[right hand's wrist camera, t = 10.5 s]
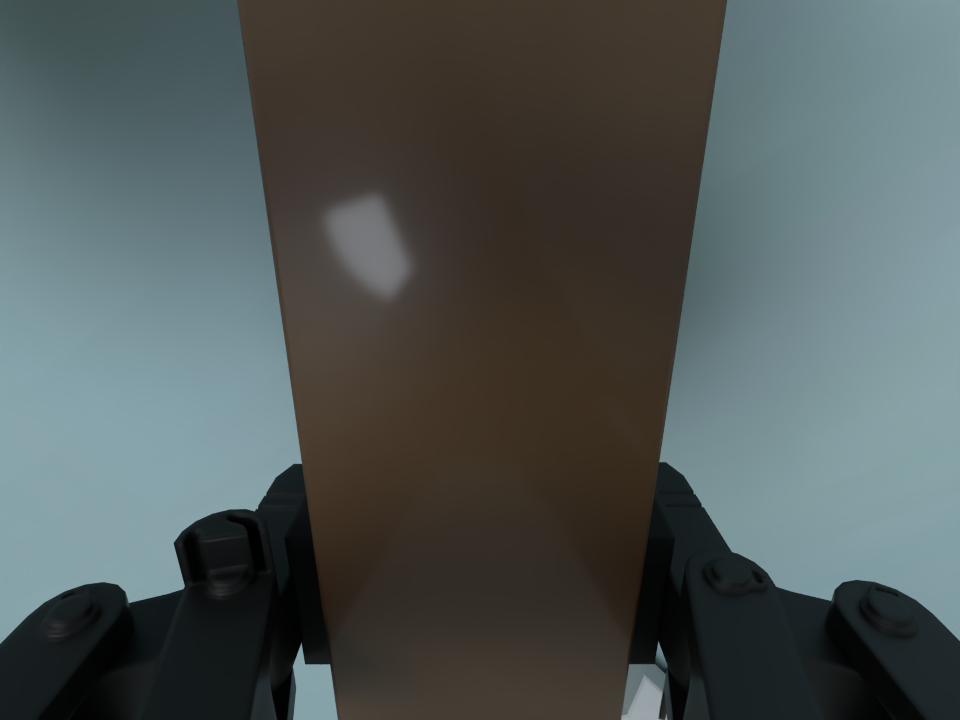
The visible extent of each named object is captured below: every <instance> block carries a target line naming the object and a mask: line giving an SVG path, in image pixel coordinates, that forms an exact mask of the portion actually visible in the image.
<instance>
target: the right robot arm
mask: <svg viewBox="0 0 960 720" xmlns="http://www.w3.org/2000/svg"><path fill="white" fill-rule="evenodd" d="M174 546H175V550H176V554H177V558H178V561H179V565H180V569H181V573H182V577H183V580H184V584H185V587H184V589H183V590H179V591H176V592H173V593H170V594H166V595H162V596H157V597H153V598H149V599H145V600H140V601H136V602H132V603H129V602H128V599H127V596H126V593H125V591H124V590H123V589H121V588H120V587H119V586H118V585H116V584H110V583H105V582H102V583H94V584H86V585H83V586H80V587H77V588H74V589H71V590H68V591H65V592H63V593H61V594H59V595H58V596H56V597H54V598H52V599H50V600H48V601H47V602H45V603H43V604H42V605H41V606H40V607H39V608H37V609H36V610H35V611H34V612H32V613H31V614H30V615H29V616H28V617H27V618H26V619H25V620H24V621H23V622H22V623H21V624H20V625H19V626H18V627H17V628H16V629H15V630H14V631H13V632H12V633H11V634H10V635H9V636H8V637H7V638H6V639H5V640H4V641H3V642H2V643H1V644H0V720H293V715H294V704H295V694H296V684H295V677H294V671H293V664H294V661H295V659H296V656H297V653H298V650H299V648H300V645H301V642H302V648H303V654H304V660H305V664H330V659H329V652H328V645H327V638H326V630H325V623H324V616H323V609H322V602H321V595H320V588H319V580H318V573H317V566H316V559H315V552H314V545H313V538H312V531H311V523H310V516H309V509H308V502H307V495H306V488H305V481H304V473H303V466H302V464H293V465H292V466H291V467H289V468H288V469H287V470H285V471H284V472H283V473H281V474H280V475H279V476H277V477H276V479H275V480H274V482H273V483H272V485H271V487H270V488H269V490H268V491H267V495H266V496H264V498H263V499H262V501H261V502H260V504H259V506H258V509H256V510H255V512H254V511H251V510H247V509H236V510H226V511H222V512H218V513H214V514H211V515H209V516H207V517H204V518H202V519H200V520H198V521H196V522H194V523H193V524H192V525H190V526H189V527H188V528H186V529H185V530H184V531H182V532H181V534H180V535H179V537H178V538H177V539H176V541H175V542H174ZM658 641H659V643H660V646H661V649H662V652H663V654H664V657H665V660H666V663H667V671H666V676H665V682H664V687H663V693H662V699H661V704H660V711H659V718H658V719H661V720H665V719H666V714H667V720H960V641H959V640H958V639H957V638H956V637H955V636H954V635H953V634H952V633H951V632H950V631H949V630H948V629H947V628H946V627H945V626H944V625H943V624H942V623H941V622H940V621H939V620H938V619H937V618H936V617H935V616H934V615H933V614H932V613H931V612H930V611H928V610H927V609H926V608H925V607H923V606H922V605H921V604H920V603H919V602H917V601H916V600H914V599H912V598H911V597H909V596H907V595H905V594H903V593H901V592H900V591H898V590H896V589H893V588H890V587H887V586H884V585H881V584H879V583H876V582H869V581H861V580H854V581H848V582H843V583H842V584H841V585H840V586H838V587H837V588H836V589H835V591H834V594H833V597H832V600H831V601H829V600H824V599H820V598H816V597H812V596H807V595H803V594H799V593H795V592H791V591H788V590H784V589H781V588H778V587H776V586H775V584H774V583H773V581H772V580H771V578H770V577H769V575H768V573H767V572H765V571H764V570H763V569H762V568H761V567H759V566H758V565H757V564H756V563H755V562H753V561H751V560H749V559H747V558H745V557H743V556H741V555H739V554H736V553H733V552H731V550H730V548H729V547H728V545H727V544H726V542H725V540H724V539H723V537H722V536H721V534H720V533H719V531H718V529H717V528H716V526H715V525H714V523H713V521H712V520H711V518H710V517H709V515H708V514H707V512H706V510H705V509H704V507H702V506H701V502H700V501H699V499H698V498H697V496H696V495H695V494H693V490H692V488H691V487H690V485H689V483H688V482H687V480H686V479H685V477H684V476H683V475H682V474H681V473H679V472H678V471H677V470H675V469H674V468H673V467H671V466H670V465H669V464H667V463H666V462H659V466H658V473H657V480H656V486H655V493H654V500H653V507H652V514H651V520H650V527H649V534H648V541H647V548H646V554H645V561H644V568H643V575H642V581H641V588H640V595H639V602H638V609H637V615H636V622H635V629H634V636H633V643H632V649H631V656H630V663H629V664H654V663H655V657H656V651H657V645H658Z"/></svg>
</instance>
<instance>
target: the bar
mask: <svg viewBox="0 0 960 720" xmlns="http://www.w3.org/2000/svg"><path fill="white" fill-rule="evenodd" d="M237 2H238V9H239V16H240V23H241V31H242V38H243V45H244V52H245V59H246V66H247V73H248V81H249V88H250V95H251V102H252V109H253V116H254V123H255V131H256V138H257V145H258V152H259V159H260V166H261V173H262V181H263V188H264V195H265V202H266V209H267V216H268V223H269V231H270V238H271V245H272V252H273V259H274V266H275V273H276V281H277V288H278V295H279V302H280V309H281V316H282V323H283V331H284V338H285V345H286V352H287V359H288V366H289V373H290V381H291V388H292V395H293V402H294V409H295V416H296V423H297V431H298V438H299V445H300V452H301V459H302V466H303V473H304V481H305V488H306V495H307V502H308V509H309V516H310V523H311V531H312V538H313V545H314V552H315V559H316V566H317V573H318V580H319V588H320V595H321V602H322V609H323V616H324V623H325V630H326V638H327V645H328V652H329V659H330V666H331V673H332V680H333V688H334V695H335V702H336V709H337V716H338V720H621V717H622V710H623V704H624V697H625V690H626V683H627V677H628V670H629V663H630V656H631V649H632V643H633V636H634V629H635V622H636V615H637V609H638V602H639V595H640V588H641V581H642V575H643V568H644V561H645V554H646V548H647V541H648V534H649V527H650V520H651V514H652V507H653V500H654V493H655V486H656V480H657V473H658V466H659V459H660V453H661V446H662V439H663V432H664V425H665V419H666V412H667V405H668V398H669V391H670V385H671V378H672V371H673V364H674V357H675V351H676V344H677V337H678V330H679V324H680V317H681V310H682V303H683V296H684V290H685V283H686V276H687V269H688V262H689V256H690V249H691V242H692V235H693V228H694V222H695V215H696V208H697V201H698V195H699V188H700V181H701V174H702V167H703V161H704V154H705V147H706V140H707V133H708V127H709V120H710V113H711V106H712V100H713V93H714V86H715V79H716V72H717V66H718V59H719V52H720V45H721V38H722V32H723V25H724V18H725V11H726V4H727V0H237Z"/></svg>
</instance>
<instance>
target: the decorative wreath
mask: <svg viewBox="0 0 960 720" xmlns="http://www.w3.org/2000/svg"><path fill="white" fill-rule="evenodd" d="M665 676H666V674H665V673H664V672H663V671H662V670H661V669H660V668H658V667H657V666H656V665H655V664H629V670H628V677H627V683H626V690H625V697H624V704H623V710H622V717H621V720H661V719H658V718H659V711H660V704H661V699H662V693H663V687H664V682H665ZM665 720H667V714H666V719H665Z"/></svg>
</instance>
